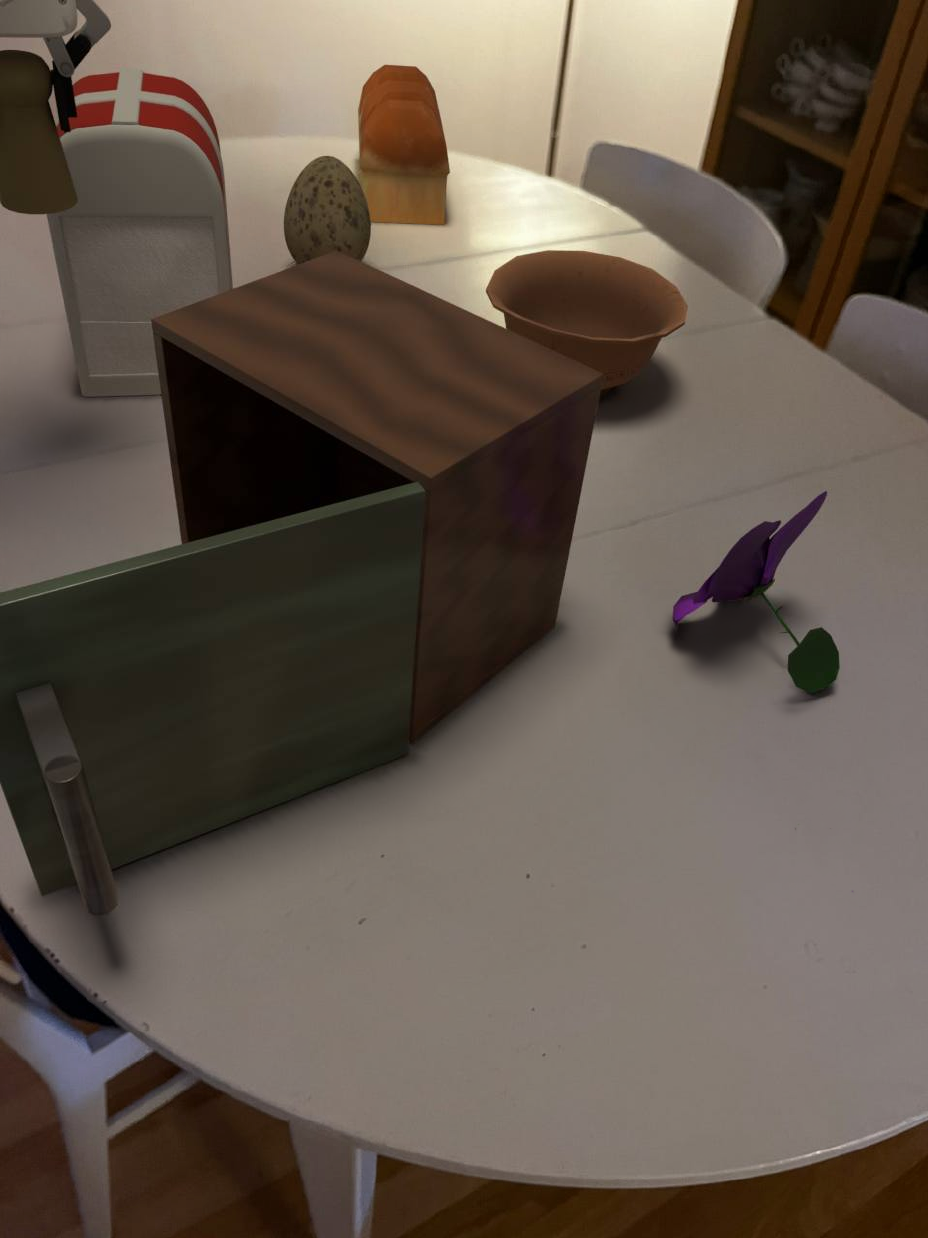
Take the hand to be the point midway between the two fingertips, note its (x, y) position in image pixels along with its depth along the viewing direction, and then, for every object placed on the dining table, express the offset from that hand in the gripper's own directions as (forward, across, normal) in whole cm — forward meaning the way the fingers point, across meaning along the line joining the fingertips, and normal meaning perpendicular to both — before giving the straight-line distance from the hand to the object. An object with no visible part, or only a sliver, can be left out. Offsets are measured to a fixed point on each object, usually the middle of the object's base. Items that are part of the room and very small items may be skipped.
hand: (25, 124), depth 80 cm
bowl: (+29, +54, +2) cm, 61 cm away
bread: (+28, +51, +60) cm, 83 cm away
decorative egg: (+29, +33, +33) cm, 54 cm away
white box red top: (+29, +10, +17) cm, 35 cm away
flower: (+30, +51, -43) cm, 73 cm away
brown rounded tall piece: (+6, 0, 0) cm, 6 cm away
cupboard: (+30, +21, -29) cm, 47 cm away
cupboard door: (+30, +7, -51) cm, 60 cm away
